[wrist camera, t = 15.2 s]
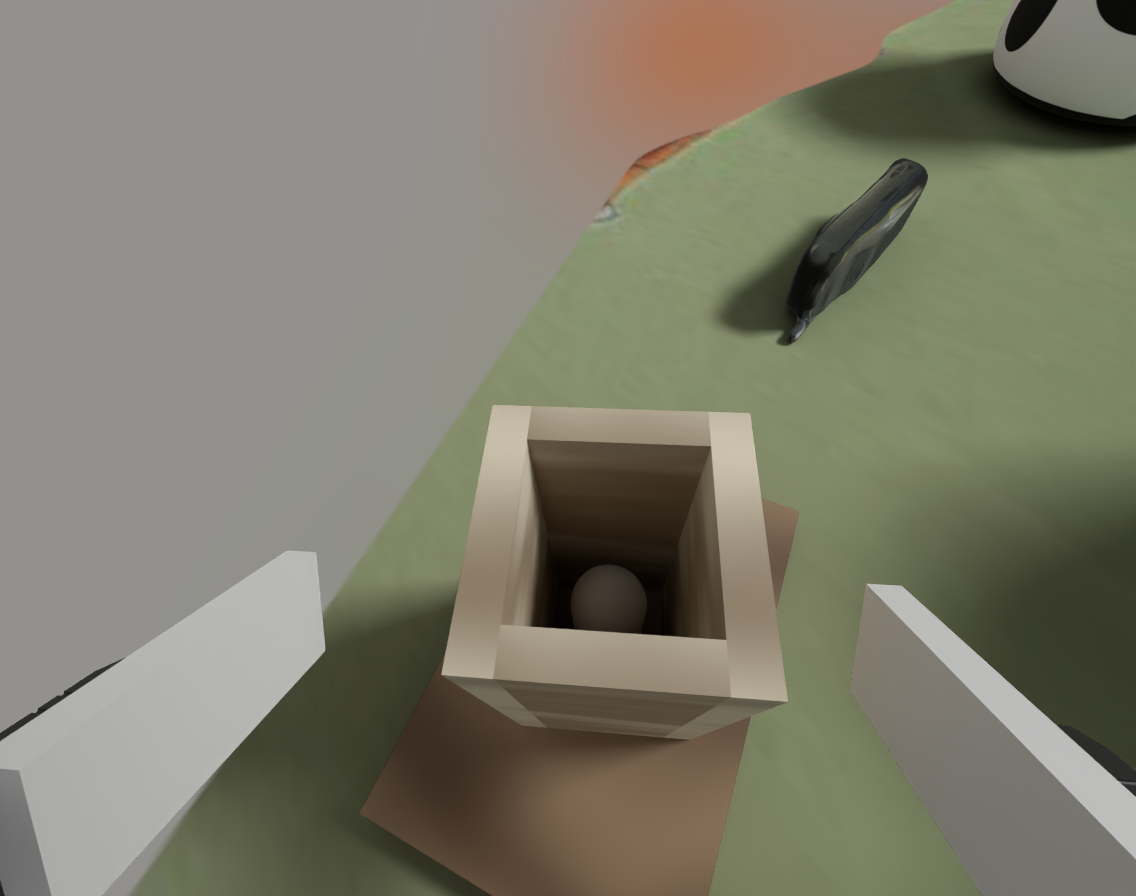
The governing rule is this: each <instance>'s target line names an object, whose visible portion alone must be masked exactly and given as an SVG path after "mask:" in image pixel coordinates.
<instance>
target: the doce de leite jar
mask: <svg viewBox="0 0 1136 896" xmlns="http://www.w3.org/2000/svg"><path fill="white" fill-rule="evenodd" d="M993 68H994V71H995V73H996V75H997V77H998V79H999V80H1000V81H1001V82H1002V83H1003V84H1004V85H1005V86H1006V87H1007V89H1008V90H1009V91H1010V92H1011V93H1012V94H1014V95H1016V96H1017V97H1019V98H1021V99H1023V100H1025V101H1026V102H1028V103H1029V104H1031V105H1033V106H1035V107H1038V108H1040V109H1043V110H1046V111H1049V112H1052V113H1055V114H1058V115H1060V116H1063V117H1066V118H1070V119H1075V120H1081V121H1087V122H1092V123H1097V124H1103V125H1113V126H1136V0H1015V1H1014V2H1013V4H1012V6H1011V8H1010V10H1009V12H1008V14H1007V16H1006V18H1005V20H1004V23H1003V25H1002V27H1001V30H1000V33H999V35H998V38H997V41H996V44H995V47H994V51H993Z"/></svg>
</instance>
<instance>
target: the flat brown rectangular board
mask: <svg viewBox="0 0 1136 896" xmlns="http://www.w3.org/2000/svg"><path fill="white" fill-rule="evenodd" d="M761 500H762V508H763V516H764V523H765V531H766V539H767V546H768V554H769V561H770V569H771V577H772V584H773V592H774V600H775V607H776V608H777V604H778V600H779V596H780V591H781V587H782V583H783V579H784V575H785V571H786V566H787V562H788V558H789V554H790V550H791V545H792V541H793V537H794V533H795V529H796V524H797V520H798V516H799V511H797V510H794V509H791V508H788V507H785V506H782V505H779V504H776V503H773V502H770V501H767V500H765V499H762V498H761ZM556 629H571V630H586V631H600V632H615V633H630V634H644V635H659V636H662V630H661V595H656V594H646V593H645V591H644V588H643V586H642V584H641V582H640V581H639V580H638V578H637V577H636V576H635V575H634V574H633V573H631V572H630V571H628V570H627V569H625V568H623V567H620V566H617V565H610V564H606V565H599V566H596V567H593V568H591V569H589V570H588V571H586V572H585V573H584V574H583V575H582V576H581V577H580V578H579V579H578V581H577V582H576V584H575V586H574V588H573V589H559V599H558V610H557V622H556ZM445 653H446V652H445ZM444 658H445V654H444V656H443V658H442V660H441V662H440V664H439V665H438V667H437V669H436V671H435V673H434V675H433V677H432V678H431V680H430V682H429V684H428V686H427V688H426V690H425V692H424V693H423V695H422V697H421V699H420V701H419V703H418V705H417V707H416V708H415V710H414V712H413V714H412V716H411V718H410V720H409V721H408V723H407V725H406V727H405V729H404V731H403V733H402V735H401V736H400V738H399V740H398V742H397V744H396V746H395V748H394V750H393V751H392V753H391V755H390V757H389V759H388V761H387V763H386V764H385V766H384V768H383V770H382V772H381V774H380V776H379V778H378V779H377V781H376V783H375V785H374V787H373V789H372V791H371V792H370V794H369V796H368V798H367V800H366V802H365V804H364V806H363V807H362V809H361V811H360V813H359V814H361V815H363V816H364V817H366V818H367V819H369V820H371V821H372V822H374V823H376V824H377V825H379V826H380V827H382V828H384V829H385V830H387V831H388V832H390V833H392V834H393V835H395V836H396V837H398V838H400V839H401V840H403V841H405V842H406V843H408V844H409V845H411V846H413V847H414V848H416V849H417V850H419V851H421V852H422V853H424V854H426V855H427V856H429V857H430V858H432V859H434V860H435V861H437V862H438V863H440V864H442V865H443V866H445V867H446V868H448V869H450V870H451V871H453V872H455V873H456V874H458V875H459V876H461V877H463V878H464V879H466V880H467V881H469V882H471V883H472V884H474V885H476V886H477V887H479V888H480V889H482V890H484V891H485V892H487V893H488V894H490V895H492V896H708V893H709V889H710V885H711V881H712V877H713V872H714V868H715V864H716V860H717V856H718V851H719V847H720V843H721V839H722V835H723V830H724V826H725V822H726V818H727V814H728V809H729V805H730V801H731V797H732V793H733V789H734V784H735V780H736V776H737V772H738V768H739V763H740V759H741V755H742V751H743V747H744V742H745V738H746V734H747V730H748V726H749V721H750V717H751V716H750V717H747V718H745V719H742V720H740V721H737V722H735V723H732V724H730V725H727V726H724V727H722V728H719V729H717V730H714V731H712V732H709V733H706V734H704V735H701V736H699V737H696V738H694V739H691V740H687V739H675V738H663V737H651V736H639V735H627V734H616V733H604V732H592V731H580V730H568V729H557V728H545V727H533V726H521V725H520V724H518V723H517V722H515V721H514V720H512V719H510V718H509V717H507V716H506V715H504V714H502V713H501V712H499V711H498V710H496V709H494V708H493V707H491V706H490V705H488V704H487V703H485V702H483V701H482V700H480V699H479V698H477V697H475V696H474V695H472V694H471V693H469V692H468V691H466V690H464V689H463V688H461V687H460V686H458V685H456V684H455V683H453V682H452V681H450V680H448V679H447V678H445V677H444V676H442V675H441V674H442V669H443V664H444Z"/></svg>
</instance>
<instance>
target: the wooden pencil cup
mask: <svg viewBox="0 0 1136 896" xmlns="http://www.w3.org/2000/svg"><path fill="white" fill-rule="evenodd" d="M606 564H610V565H617V566H620V567H623V568H625V569H627V570H628V571H630V572H631V573H633V574H634V575H635V576H636V577H637V578H638V580H639V581H640V582H641V584H642V586H643V588H644V591H645V593H646V594H656V595H661V630H662V636H659V635H644V634H630V633H615V632H600V631H586V630H571V629H556V622H557V610H558V599H559V589H573V588H574V586H575V584H576V582H577V581H578V579H579V578H580V577H581V576H582V575H583V574H584V573H585V572H586V571H588V570H589V569H591V568H593V567H596V566H599V565H606ZM441 675H442V676H444V677H445V678H447V679H448V680H450V681H452V682H453V683H455V684H456V685H458V686H460V687H461V688H463V689H464V690H466V691H468V692H469V693H471V694H472V695H474V696H475V697H477V698H479V699H480V700H482V701H483V702H485V703H487V704H488V705H490V706H491V707H493V708H494V709H496V710H498V711H499V712H501V713H502V714H504V715H506V716H507V717H509V718H510V719H512V720H514V721H515V722H517V723H518V724H520V725H521V726H533V727H545V728H557V729H568V730H580V731H592V732H604V733H616V734H627V735H639V736H651V737H663V738H675V739H687V740H691V739H694V738H696V737H699V736H701V735H704V734H706V733H709V732H712V731H714V730H717V729H719V728H722V727H724V726H727V725H730V724H732V723H735V722H737V721H740V720H742V719H745V718H747V717H750V716H753V715H755V714H758V713H760V712H763V711H765V710H768V709H771V708H773V707H776V706H778V705H781V704H783V703H786V702H788V699H787V691H786V684H785V676H784V668H783V661H782V653H781V645H780V638H779V630H778V623H777V615H776V607H775V600H774V592H773V584H772V577H771V569H770V561H769V554H768V546H767V539H766V531H765V523H764V516H763V508H762V500H761V493H760V485H759V477H758V470H757V462H756V454H755V447H754V439H753V432H752V424H751V416H750V413H727V412H695V411H664V410H633V409H601V408H570V407H538V406H507V405H493V407H492V412H491V417H490V423H489V428H488V433H487V438H486V444H485V449H484V454H483V459H482V464H481V470H480V475H479V480H478V485H477V491H476V496H475V501H474V506H473V512H472V517H471V522H470V527H469V533H468V538H467V543H466V548H465V554H464V559H463V564H462V569H461V574H460V580H459V585H458V590H457V595H456V601H455V606H454V611H453V616H452V622H451V627H450V632H449V637H448V643H447V648H446V653H445V658H444V664H443V669H442V674H441Z"/></svg>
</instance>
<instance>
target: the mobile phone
mask: <svg viewBox="0 0 1136 896" xmlns="http://www.w3.org/2000/svg"><path fill="white" fill-rule="evenodd" d="M927 179H928V174H927V171H926V170H925V168H924V167H923V166H922V165H920V164H919V163H917V162H914V161H911V160H908V159H899V160H897V161H895V162H894V163H893V164H892V165H891V166H890V168H889V169H888V170H887V171H886V172H885V174H884V175H883V176H882V177H881V178H880V179H879V180H878V181H877V182H875V183H874V184H873V185H872V186H871V187H870V188H869V189H868V190H867V191H866V192H865V193H864V194H863V195H862V196H861V197H860V198H859V199H858V200H857V201H856V202H854V203H852V204H851V205H849V206H848V207H847V208H845V209H844V210H843V211H841V212H840V213H838V214H836V215H834V216H833V217H832V218H831V219H829V220H828V221H827V222H826V223H825V224H824V225H823V226H822V227H821V228H820V230H819V231H818V232H817V234H816V235H815V237H814V239H813V241H812V242H811V244H810V246H809V247H808V249H807V251H806V252H805V254H804V256H803V258H802V260H801V262H800V264H799V266H798V268H797V271H796V273H795V275H794V278H793V281H792V283H791V286H790V289H789V291H788V294H787V298H786V304H785V305H786V308H787V309H788V310H790V311H791V312H793V313H794V314H795V315H796V317H797V321H796V324H795V326H794V327H793V328H792V329H791V331H790V332H789V333H788V334H787V339H788V341H790V342H795V341H797V340H798V338H799V337H800V336H801V335H802V333H803V332H804V331H805V329H806V328H807V326H808V325H809V324H810V323H811V322H812V321H813V319H814V318H815V317H816V316H817V315H818V314H819V313H821V312H822V311H823V310H824V309H825V308H826V307H827V306H828V305H829V304H830V303H831V302H832V301H833V300H834V299H835V298H837V297H838V296H840V295H842V294H844V293H845V292H847V291H848V290H850V289H851V288H852V287H853V286H854V285H855V284H856V283H857V281H858V280H859V279H860V278H861V277H862V276H863V274H864V273H865V272H866V271H867V270H868V269H869V268H870V267H871V266H872V265H873V264H874V263H875V261H876V260H877V259H878V258H879V257H880V255H881V254H882V253H883V251H884V250H885V249H886V248H887V247H888V246H889V245H890V243H891V242H892V241H893V240H894V239H895V237H896V236H897V235H898V233H899V232H900V231H901V229H902V228H903V226H904V224H905V223H906V221H907V219H908V217H909V216H910V214H911V212H912V210H913V208H914V207H915V205H916V203H917V201H918V199H919V197H920V195H921V194H922V192H923V190H924V188H925V185H926V183H927Z"/></svg>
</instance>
